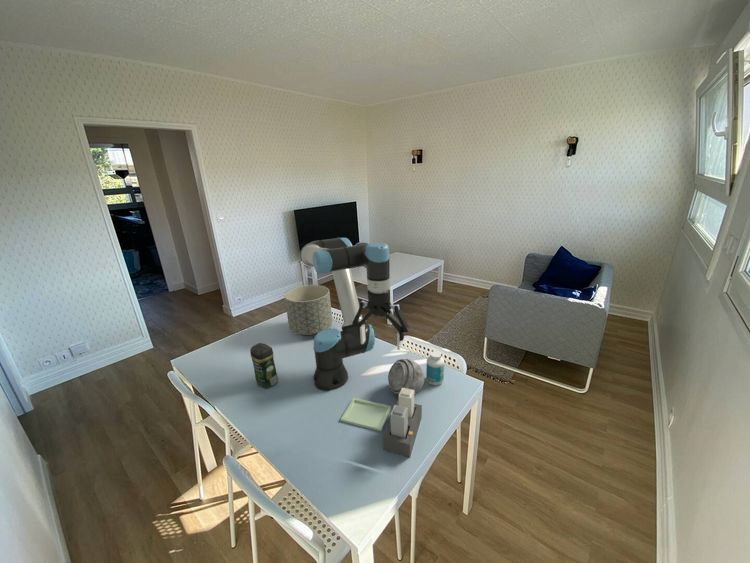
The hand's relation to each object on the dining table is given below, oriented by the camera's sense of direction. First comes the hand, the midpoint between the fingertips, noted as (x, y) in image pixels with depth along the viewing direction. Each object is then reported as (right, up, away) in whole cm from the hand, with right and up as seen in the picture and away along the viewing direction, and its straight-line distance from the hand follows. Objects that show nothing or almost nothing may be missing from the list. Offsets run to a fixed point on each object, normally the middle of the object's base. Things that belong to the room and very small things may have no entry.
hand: (380, 345), depth 109 cm
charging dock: (+8, -31, -2) cm, 32 cm away
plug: (+6, -30, -6) cm, 32 cm away
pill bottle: (+24, -21, +25) cm, 40 cm away
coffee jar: (-50, -23, +28) cm, 62 cm away
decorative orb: (+11, -24, +18) cm, 32 cm away
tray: (-5, -28, +7) cm, 30 cm away
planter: (-40, -6, +72) cm, 83 cm away
